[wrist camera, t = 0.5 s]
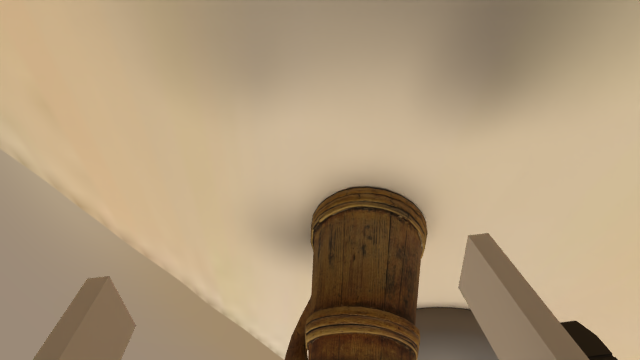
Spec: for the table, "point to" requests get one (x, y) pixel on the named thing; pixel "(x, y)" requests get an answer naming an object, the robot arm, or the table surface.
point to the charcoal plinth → (451, 335)
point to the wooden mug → (362, 279)
